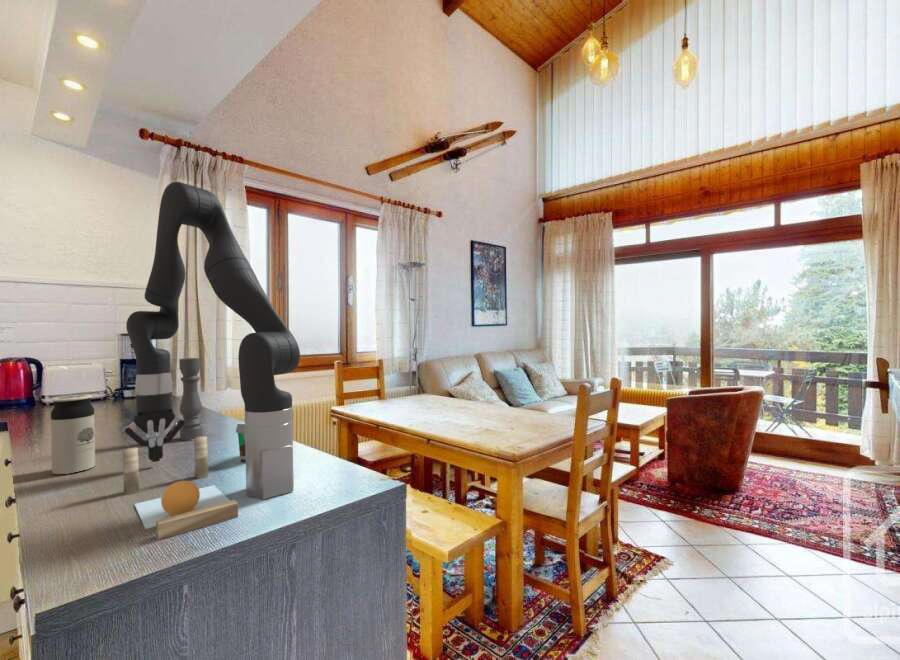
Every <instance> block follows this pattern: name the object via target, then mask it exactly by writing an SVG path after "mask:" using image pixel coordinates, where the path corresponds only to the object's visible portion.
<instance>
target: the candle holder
mask: <svg viewBox="0 0 900 660" xmlns="http://www.w3.org/2000/svg"><path fill="white" fill-rule="evenodd" d="M178 360H179V370H180V373H181V374H182V377H180V381H181V382H182V384H183V392H182V393H183V394H182V396H181V401H180V405H179V412H180V415H182V418H183V419H182V420H183V421H184V422H185V423H184V425H183V426H182V427H181V429H180V430H179V440H180V439H181V440H180V441H182V440H190V441H192V440H191V439H194V438H196V437H200V436H204V433H203V431H204V430H203V427H204V426H203V425H202V420H201V419H200V418H199V417H200V414H201V413H202V410H203V405H202V401H201V398H200V395H199V390H198V382H199V381H200V380H201V378H200V376H198V374H199V372H200V369H201V358H200V357H189V358H179V359H178Z"/></svg>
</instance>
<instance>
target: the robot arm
mask: <svg viewBox="0 0 900 660" xmlns="http://www.w3.org/2000/svg"><path fill="white" fill-rule="evenodd" d="M222 205H223V204H222V203H221V202H220V200H219V198H218V196H216V194H214V193H213V192H211V191H209V190H208V189H204V188H202V187H199V186H195V185H191V184H188V183H185V182H181V181H172V182H170V183H169V184H167V186H166V187H165V188H164V191H163V192H162V196H161V199H160V204H159V212H158V218H157V229H156V236H155V237H156V239H155V250H154V257H153V263H152V267H151V271H150V274H149V277H148V280H147V283H146V288H145V291H144V299H145V301H146V302H147V303H148V304H151V305H153V306H155V307H159V310H158V311H155V310H154V311H153V310H152V311H151V310H150V311H147V310H138V311H136V310H135V311H134V312H132V313H131V314H130V315H128V318H127V320H126V326H125V328H126V332H127V335H128V339H129V340H130V343H131V346H132V349H133V352H134V356H135V358H136V359H135V361H136V364H135V366H136V367H135V368H136V369H135V370H136V378H135V388H134V392H135V415H134V417H133V421H132V422H131V423H130V424H129V425H127V426H124V427H123V432H125V434H127V435H128V436H129V437H130V438H131V439H133V440H134V441H135V442H136V443H138V444H139V446H141V447H145V448H146V447H147V458H148V460H149V461H151V462H152V463H156V462H159V461H161V460H160V459H162V458H163V456H164V454H163V453H164V452H163V450H164V449H163V447H164V445H165V444H167V443H170V442H171V441H172V440H173V439H174V438H175V436H177V434H178V433H179V432H180V429H181V427H182V426H183V425H184V423H185V422H184V421H183V420H184V419H181V418H178V417H177V416H176V414H175V412H174V408H173V406H174V404H173V378H172V373H171V372H172V371H171V367H172V366H171V359H172V358H171V352H169V350H167V349H163V348H157V347H156V346H154V344H153V343H152V341H151V340H167V339H168V340H169V339H171V338H172V337H174V336H175V335H176V334H177V331H178V329H179V326H180V324H179V323H180V322H179V321H180V319H179V300H180V297H181V293H182V290H183V287H184V285H185V281H186V267H185V264H184V261H183V258H182V254H181V251H180V247H179V240H178V238H179V234H180V233H179V232H180V229H181V227H182V225H184V226H188V227H193V228H197V229H199V230H201V232H202V233H203V235H204V236H205V238H206V240H207V242H208V248H207V249H208V250H207V251H206V255H205V259H204V266H203V268H204V273H205V276H206V278H207V280H208V282H209V284H210V287H211V288H212V290H213V292H214V293H215V295H216V296H217V298H218V299H219V301H221V302H222V303H223V304H224V305H225V306H227V307H228V308H229V309H230V310H232V311H233V312H234V313H235V314H237V315H238V316H240V318H241V319H243V320H244V321H245V322H246V323H247V324H248V325H250V327H251V328H252V329H253V331H254V332H252V333H248V334H246V335H245V336H244V337H243V339H242V340H241V342H240V344H239V348H238V358H237V359H238V372H239V384H240V385H239V386H240V395H241V398H242V400H243V403H244V424H245V453H246V462H245V491H246V492H245V494H246V495H247V496H248V497H251V498H255V499H257V498H259V499H262V500H266V499H269V498H274V497H277V496H280V495H284V494H287V493H292V492H294V478H295V477H294V439H293V438H294V437H293V434H294V433H293V431H294V430H293V396H292V394H291V393H290V392H288V391H285V390H281V389H279V388H278V386H277V385H276V382H275V376H279V375H285V374H288V373H289V374H290V373H291V372H294V371H295V370H296V369H297V368H298V366H299V364H300V362H301V361H300V359H301V353H300V352H301V351H300V347H299V344H298V342H297V340H296V337H294V335H293V333H292V331H291V330H290V329H289V328H288V326H287V325H286V323H285V322H284V321H283V319H282V317H281V315H280V314H278V312H277V311H276V309H275V308H274V306H273V304H272V303H271V301H270V299H269V297H268V296H267V293H265V291H264V288H263V287H262V285H261V283H260V281H259V280H258V278H257V275H256V273H255V271H254V269H253V268H252V266H251V265H250V262H249V261H248V259H247V258H246V256H245V255H244V252H243V250H242V248H241V247H240V244H239V243H238V240H237V239H236V236H235V234H234V233H233V230H232V228H231V226H230V224H229V220H228V218H227V215H226V212H225V211H224V207H223V206H222ZM171 423H172V424H171ZM170 425H171V426H172V427H170ZM137 427H138V429H140V430H141V431H142V432H143V433H145V434H146V439H144V438H142V437H141V436H140V435H139V434H137V433H136V432H137V431H138V429H137ZM169 427H170V429H169V431H168V432H167V433H166V434H165V431H166V430H167V429H168V428H169Z"/></svg>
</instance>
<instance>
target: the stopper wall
mask: <svg viewBox="0 0 900 660" xmlns="http://www.w3.org/2000/svg"><path fill="white" fill-rule="evenodd" d="M238 504H239V503H238V502H237V501H236V500H235V499H232V500H230V501H228V502H224V503H221V504H217V505H213V506H209V507H206V508H202V509H198V510H194V511H190V512H187V513H183V514H179V515H175V516H172V517H168V518H164V519H160V520H157V521H156V527H155V530H156V531H155V532H156V538H157V539H158V540H159V541H160V540H163V539H166V538H170V537H174V536H177V535H181V534H183V533H187V532H191V531H194V530H197V529H198V530H199V529H201V528H204V527H209V526H211V525H214V524H217V523H222V522H224V521H229V520H232V519H235V518H239V505H238ZM190 530H191V531H190Z"/></svg>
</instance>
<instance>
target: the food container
mask: <svg viewBox="0 0 900 660" xmlns="http://www.w3.org/2000/svg"><path fill="white" fill-rule="evenodd" d="M235 428H236V429H235V433H237V438H238V440H237V441H238V450H239V461H240V463H246V453H245V423H237V425H236V427H235Z"/></svg>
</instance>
